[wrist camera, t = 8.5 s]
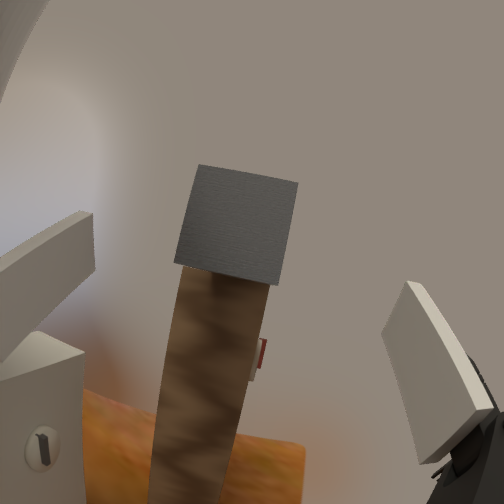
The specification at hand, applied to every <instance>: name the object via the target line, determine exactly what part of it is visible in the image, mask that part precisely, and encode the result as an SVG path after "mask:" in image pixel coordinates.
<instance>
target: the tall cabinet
mask: <svg viewBox="0 0 504 504" xmlns="http://www.w3.org/2000/svg"><path fill="white" fill-rule="evenodd" d="M269 287H270V285H267V284H262V283H258V282H253V281H248V280H244V279H239V278H234V277H230V276H225V275H221V274H216V273H212V272H207V271H203V270H199V269H194V268H190V267H185V266H183V270H182V274H181V279H180V284H179V288H178V293H177V298H176V303H175V308H174V313H173V318H172V323H171V329H170V334H169V340H168V345H167V351H166V357H165V363H164V369H163V375H162V381H161V388H160V394H159V401H158V408H157V416H156V423H155V431H154V440H153V449H152V458H151V468H150V479H149V491H148V504H218V500H219V497H220V493H221V489H222V485H223V482H224V478H225V474H226V470H227V466H228V462H229V459H230V455H231V451H232V447H233V443H234V439H235V435H236V430H237V426H238V423H239V419H240V414H241V410H242V406H243V402H244V397H245V394H246V389H247V385H248V381H253V380H254V377H255V373H256V369H257V368H259V369H260V368H261V364H262V360H263V355H264V351H265V346H266V342H267V339H262V338H259V333H260V329H261V324H262V320H263V315H264V310H265V306H266V301H267V296H268V292H269ZM258 338H259V339H258Z"/></svg>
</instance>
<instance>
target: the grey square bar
mask: <svg viewBox="0 0 504 504" xmlns="http://www.w3.org/2000/svg"><path fill="white" fill-rule="evenodd" d="M297 187H298V183H297V182H292V181H287V180H282V179H278V178H273V177H268V176H262V175H257V174H252V173H247V172H241V171H236V170H229V169H224V168H218V167H212V166H206V165H198V169H197V172H196V176H195V179H194V183H193V187H192V190H191V194H190V198H189V201H188V205H187V209H186V213H185V217H184V221H183V225H182V229H181V233H180V237H179V242H178V246H177V250H176V254H175V259H174V263H177V264H181V265H185V266H188V267H192V268H196V269H200V270H204V271H208V272H212V273H216V274H221V275H225V276H230V277H234V278H239V279H244V280H248V281H253V282H258V283H262V284H267V285H278V283H279V278H280V273H281V269H282V264H283V259H284V254H285V249H286V244H287V239H288V234H289V229H290V224H291V219H292V214H293V208H294V203H295V198H296V193H297Z"/></svg>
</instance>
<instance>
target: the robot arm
mask: <svg viewBox="0 0 504 504" xmlns="http://www.w3.org/2000/svg"><path fill="white" fill-rule="evenodd" d="M49 1H50V0H0V102H1V100H2V96H3V94H4V91H5V89H6V86H7V83H8V81H9V78H10V76H11V74H12V71H13V69H14V67H15V64H16V62H17V60H18V57H19V55H20V53H21V51H22V49H23V47H24V45H25V43H26V41H27V39H28V37H29V35H30V33H31V31H32V30H33V28H34V26H35V24H36V22H37V21H38V19H39V17H40V16H41V14H42V12H43V10H44V9H45V7H46V5H47V4H48V2H49ZM94 271H95V258H94V238H93V213H88V212H84V211H78V212H76V213H74V214H72V215H70V216H69V217H67V218H65V219H63V220H61V221H59V222H58V223H56V224H54V225H52V226H51V227H49V228H47V229H45V230H44V231H42V232H40V233H38V234H37V235H35V236H34V237H32V238H30V239H28V240H27V241H25V242H24V243H22V244H20V245H19V246H17V247H15V248H14V249H12V250H11V251H9V252H8V253H6V254H5V255H3V256H2V257H0V362H1V363H3V362H4V361H5V360H6V359H7V357H8V356H9V355H10V354H11V353H12V352H13V351H14V350H15V349H16V348H17V346H18V345H19V344H20V343H21V342H22V341H23V340H24V339H25V338H26V337H27V336H28V335H29V334H30V333H31V332H32V331H33V330H34V329H35V328H36V327H37V326H38V325H39V323H40V322H41V321H42V320H43V319H44V318H45V317H46V316H47V315H48V314H50V313H51V312H52V311H53V310H54V309H55V307H57V306H58V305H59V304H60V303H61V302H62V301H63V300H64V299H65V298H66V297H67V296H68V295H69V294H70V293H71V292H72V291H73V290H75V289H76V288H77V287H78V286H79V285H80V284H81V283H82V282H83V281H84V280H85V279H87V278H88V277H89V276H90V275H91V274H92V273H93V272H94ZM381 335H382V338H383V341H384V343H385V346H386V349H387V352H388V355H389V358H390V361H391V364H392V367H393V370H394V373H395V376H396V380H397V383H398V386H399V389H400V393H401V396H402V399H403V403H404V406H405V410H406V413H407V417H408V421H409V424H410V428H411V432H412V436H413V440H414V444H415V448H416V452H417V456H418V461H419V464H420V465H422V464H429V463H436V462H438V461H440V460H441V459H442V458H443V457H445V456H446V455H447V454H448V453H449V452H450V454H451V458H452V459H451V460H450V461H449V462H448V463H447V464H445V465H444V466H443V467H442V468H440V469H439V470H438V471H436V472H435V473H434V474H433V476H432V477H431V478H433V479H434V478H435V477H436V476H437V475H439V474H440V473H442V474H441V476H440V478H439V479H438V480H437V484H436V486H435V489H434V490H433V492H432V494H431V496H430V498H429V500H428V502H427V504H504V412H501V413H500V411H499V409H498V407H497V405H496V403H495V401H494V399H493V397H492V395H491V393H490V391H489V389H488V387H487V385H486V383H484V379H483V377H482V375H480V374H479V373H480V372H479V370H478V368H477V366H476V365H475V363H474V361H473V360H472V359H471V358H470V357H469V356H468V355H467V354H466V353H465V352H464V350H463V348H462V347H461V345H460V343H459V341H458V340H457V338H456V336H455V335H454V333H453V332H452V330H451V328H450V327H449V325H448V324H447V322H446V320H445V319H444V317H443V316H442V314H441V313H440V311H439V310H438V308H437V306H436V305H435V303H434V302H433V300H432V299H431V297H430V296H429V295H428V293H427V292H426V290H425V289H424V287H423V286H422V285H421V284H420V283H415V282H411V281H406V282H405V284H404V287H403V289H402V291H401V294H400V296H399V298H398V300H397V302H396V304H395V307H394V309H393V311H392V313H391V315H390V317H389V319H388V321H387V323H386V325H385V327H384V329H383V331H382V333H381Z"/></svg>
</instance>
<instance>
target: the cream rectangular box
mask: <svg viewBox="0 0 504 504" xmlns="http://www.w3.org/2000/svg"><path fill="white" fill-rule="evenodd" d="M85 354H86V353H85V352H84V351H81V350H79V349H77V348H74V347H72V346H70V345H68V344H65V343H63V342H61V341H59V340H57V339H55V338H52V337H50V336H49V335H47V334H45V333H43V332H41V331H37V332H31V333H30V334H29V335H28V336H27V337H26V338H25V339H24V340H23V341H22V342H21V343H20V344H19V345H18V346H17V348H16V349H15V350H14V351H13V352H12V353H11V354H10V355H9V356H8V357H7V359H6V360H5V361H4V362H3V363H1V362H0V504H87V500H86V491H85V481H84V468H83V448H82V400H83V380H84V365H85Z"/></svg>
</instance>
